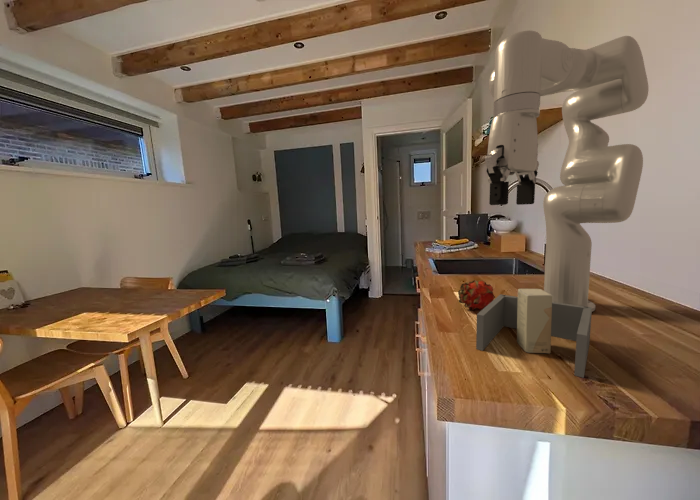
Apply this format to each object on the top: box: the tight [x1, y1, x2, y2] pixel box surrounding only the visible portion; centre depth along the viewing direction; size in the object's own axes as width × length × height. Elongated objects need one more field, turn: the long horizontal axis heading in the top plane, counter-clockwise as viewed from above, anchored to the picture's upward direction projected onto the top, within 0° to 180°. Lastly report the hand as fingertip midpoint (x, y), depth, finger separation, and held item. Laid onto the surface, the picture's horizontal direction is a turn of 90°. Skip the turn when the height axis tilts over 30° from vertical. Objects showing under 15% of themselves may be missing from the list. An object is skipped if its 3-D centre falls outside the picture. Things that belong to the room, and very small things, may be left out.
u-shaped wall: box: [475, 294, 593, 379], centre depth 57 cm, size 16×16×7 cm
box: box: [516, 288, 552, 354], centre depth 56 cm, size 5×4×11 cm
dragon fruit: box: [457, 279, 496, 311], centre depth 79 cm, size 8×8×12 cm
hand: (512, 204), depth 57 cm, fingers open, 9 cm apart
